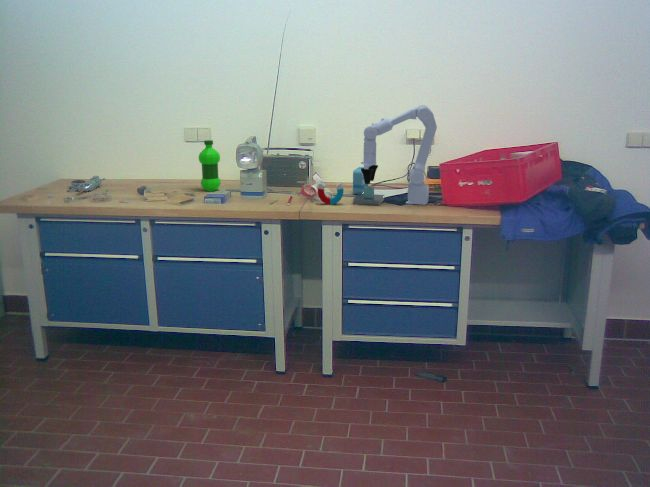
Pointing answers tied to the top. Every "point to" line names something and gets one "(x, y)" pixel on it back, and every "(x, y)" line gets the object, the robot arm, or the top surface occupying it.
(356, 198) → the base block
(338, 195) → the magnet
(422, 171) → the robot arm
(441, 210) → the top surface
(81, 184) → the grey irregular piece
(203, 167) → the plastic bottle
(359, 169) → the data package
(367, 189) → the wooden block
